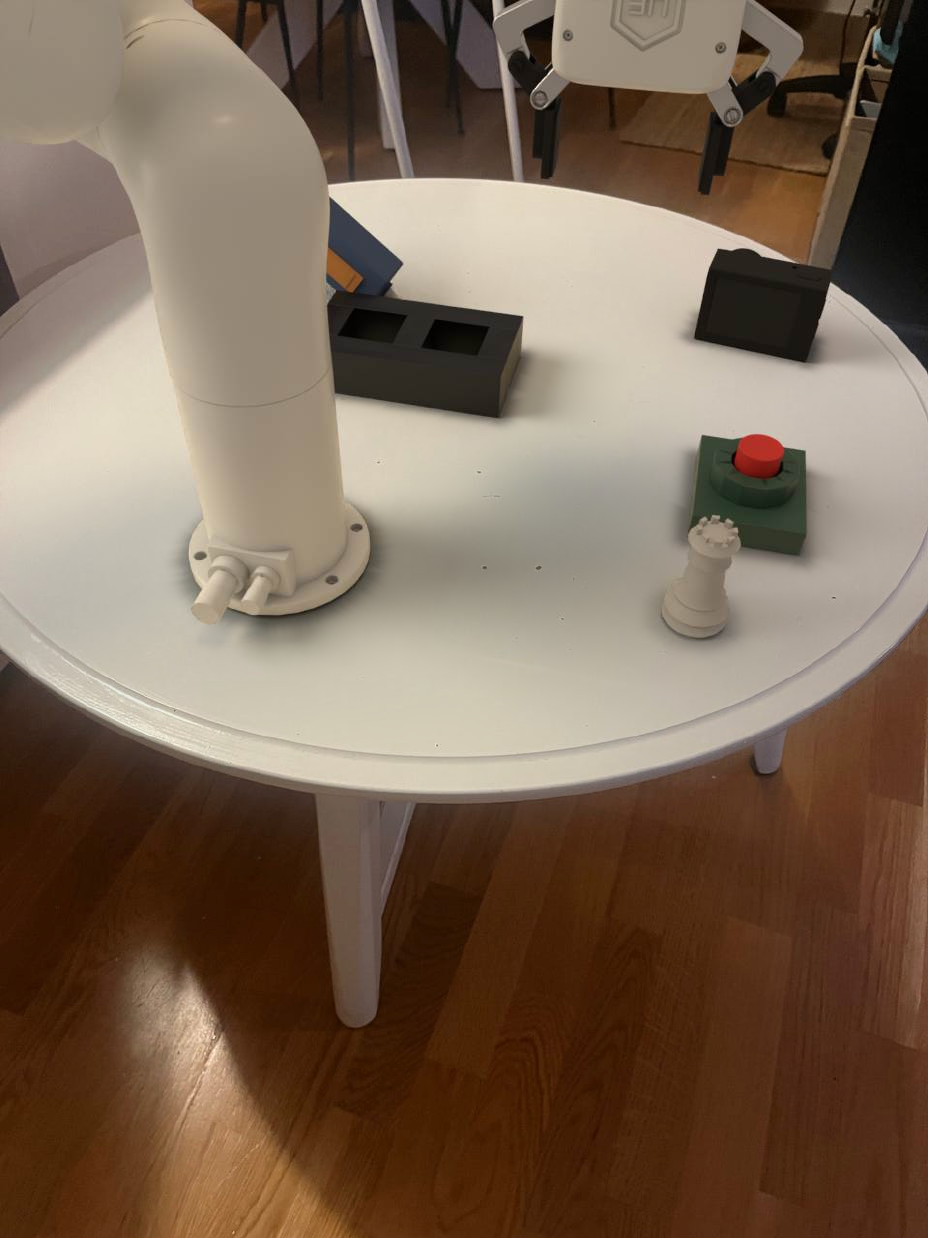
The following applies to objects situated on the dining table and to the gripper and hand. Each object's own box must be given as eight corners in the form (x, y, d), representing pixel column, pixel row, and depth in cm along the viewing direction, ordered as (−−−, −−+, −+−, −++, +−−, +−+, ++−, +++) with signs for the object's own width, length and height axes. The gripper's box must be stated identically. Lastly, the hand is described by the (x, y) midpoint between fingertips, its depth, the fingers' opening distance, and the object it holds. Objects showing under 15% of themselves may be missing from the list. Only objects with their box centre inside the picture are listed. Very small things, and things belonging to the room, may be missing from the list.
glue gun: (343, 403, 100) (423, 310, 89) (68, 201, 89) (123, 69, 79) (361, 369, 103) (440, 275, 93) (100, 171, 93) (156, 41, 83)
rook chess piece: (654, 633, 65) (676, 544, 59) (665, 587, 68) (686, 498, 62) (722, 648, 64) (750, 560, 58) (729, 602, 67) (757, 513, 61)
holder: (498, 418, 81) (500, 376, 78) (303, 387, 84) (298, 346, 81) (520, 356, 88) (523, 315, 85) (339, 329, 90) (336, 289, 87)
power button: (777, 483, 70) (784, 463, 69) (733, 475, 71) (738, 456, 69) (778, 456, 72) (784, 437, 71) (734, 449, 73) (740, 430, 72)
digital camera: (814, 333, 91) (837, 262, 86) (806, 362, 88) (829, 290, 83) (705, 311, 94) (720, 240, 89) (693, 338, 90) (708, 267, 85)
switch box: (798, 556, 70) (814, 514, 67) (686, 538, 71) (697, 495, 68) (798, 472, 77) (812, 431, 74) (696, 456, 78) (706, 415, 75)
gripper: (489, -171, 47) (478, 189, 59) (861, -149, 45) (768, 218, 57) (513, -194, 52) (498, 142, 64) (847, -176, 50) (765, 167, 62)
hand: (625, 177), depth 61 cm, fingers open, 9 cm apart
